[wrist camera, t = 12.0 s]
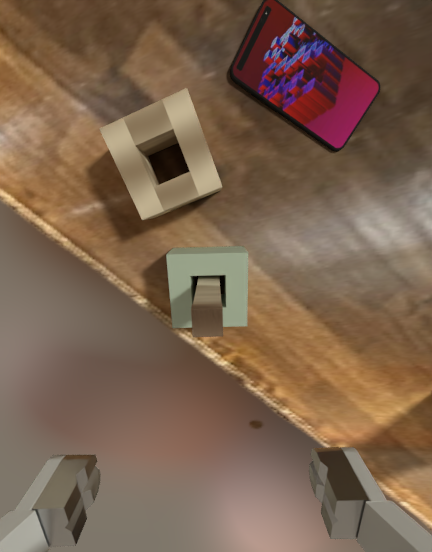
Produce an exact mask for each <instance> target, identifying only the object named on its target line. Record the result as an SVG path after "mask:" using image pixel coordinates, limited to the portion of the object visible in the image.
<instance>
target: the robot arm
mask: <svg viewBox="0 0 432 552" xmlns="http://www.w3.org/2000/svg"><path fill="white" fill-rule="evenodd" d="M311 457H312V460H313V461H312V462H311V463H310V466H309V474H310V481H311V485H312V488H313V491H314V494H315V497H316V498H317V499H318V500H319V501H320V502H321V503H322V508H321V514H322V517H323V520H324V523H325V525H326V528H327V531H328V534H329V536H330V538H331V539H357V542H358V543H359V544H360V546H361V547H362V548H363V549H364V550H365V552H432V535H431V534H430V533H428V532H427V531H426V530H425V529H424V528H423V527H421V526H420V525H419V524H418V523H417V522H416V521H415V520H413V519H412V518H411V517H410V516H408V515H407V514H406V513H405V512H404V511H403V510H402V509H401V508H399V507H398V506H397V505H396V504H395V503H394V502H392V501H387V500H386V498H385V497H384V495H383V493H382V491H381V490H380V488H379V486H378V485H377V483H376V481H375V480H374V478H373V476H372V475H371V473H370V471H369V470H368V468H367V466H366V465H365V463H364V461H363V460H362V458H361V456H360V455H359V453H358V451H357V450H356V449H355V448H354V447H342V448H339V447H330V448H313V449H312V450H311ZM96 463H97V458H96V455H53V456H52V457H51V458H50V459H48V461H47V462H46V464H45V465H44V467H43V468H42V470H41V471H40V473H39V474H38V475H37V477H36V479H35V480H34V481H33V483H32V484H31V486H30V488H29V489H28V491H27V492H26V493H25V495H24V496H23V498H22V499H21V501H20V503H19V504H18V506H17V507H16V508H15V510H14V511H9V512H8V513H6V514H5V515H4V516H3V517H2V518H0V552H47V551H48V550H49V547H59V546H74V545H75V546H76V544H77V542H78V539H79V537H80V534H81V532H82V530H83V527H84V525H85V522H86V520H87V516H86V510H87V509H88V508H89V507H90V506H91V505H92V504H93V503H94V500H95V498H96V495H97V493H98V489H99V485H100V470H99V469H98V468H97V467H96V466H95V465H96Z"/></svg>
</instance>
